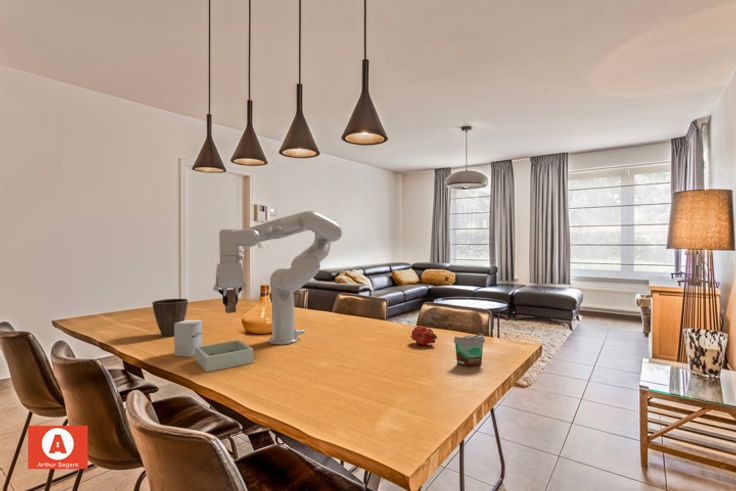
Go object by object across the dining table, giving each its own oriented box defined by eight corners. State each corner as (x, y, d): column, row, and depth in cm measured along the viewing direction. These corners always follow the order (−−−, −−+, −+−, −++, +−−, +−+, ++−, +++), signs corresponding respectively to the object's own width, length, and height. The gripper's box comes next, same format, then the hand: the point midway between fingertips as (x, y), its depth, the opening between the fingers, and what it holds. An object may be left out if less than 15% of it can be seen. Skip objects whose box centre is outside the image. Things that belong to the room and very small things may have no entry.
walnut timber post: (232, 311, 158) (232, 289, 158) (235, 312, 155) (235, 289, 155) (225, 312, 156) (224, 290, 156) (228, 313, 153) (227, 290, 153)
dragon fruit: (411, 345, 165) (435, 354, 157) (403, 337, 159) (428, 346, 151) (419, 327, 168) (443, 335, 160) (412, 319, 162) (436, 327, 154)
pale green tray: (238, 352, 151) (238, 339, 151) (253, 362, 138) (253, 349, 138) (195, 360, 141) (195, 346, 141) (206, 372, 128) (206, 357, 128)
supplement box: (191, 356, 146) (190, 323, 146) (173, 355, 147) (173, 323, 147) (203, 351, 153) (202, 319, 153) (186, 350, 154) (186, 319, 154)
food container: (465, 370, 128) (465, 340, 128) (453, 365, 133) (453, 336, 133) (493, 364, 134) (492, 336, 134) (480, 359, 139) (480, 332, 139)
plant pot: (149, 334, 181) (148, 300, 181) (182, 329, 191) (182, 297, 191) (157, 340, 170) (157, 304, 170) (193, 334, 180) (192, 300, 180)
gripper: (246, 258, 163) (247, 301, 163) (205, 260, 153) (206, 306, 154) (252, 259, 157) (253, 304, 157) (210, 260, 147) (211, 308, 148)
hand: (230, 304), depth 156 cm, fingers closed on walnut timber post, 2 cm apart
